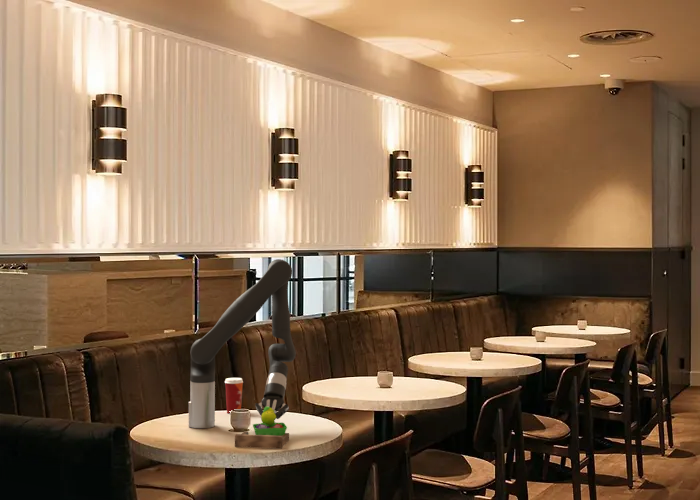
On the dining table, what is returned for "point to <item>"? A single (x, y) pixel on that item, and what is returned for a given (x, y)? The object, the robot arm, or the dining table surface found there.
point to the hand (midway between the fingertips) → (268, 427)
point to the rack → (261, 440)
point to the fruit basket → (269, 424)
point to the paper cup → (233, 393)
